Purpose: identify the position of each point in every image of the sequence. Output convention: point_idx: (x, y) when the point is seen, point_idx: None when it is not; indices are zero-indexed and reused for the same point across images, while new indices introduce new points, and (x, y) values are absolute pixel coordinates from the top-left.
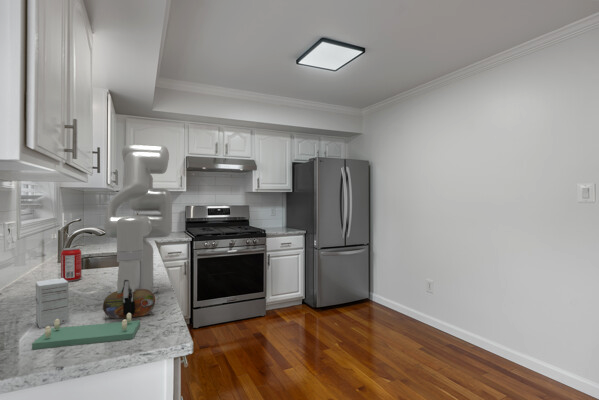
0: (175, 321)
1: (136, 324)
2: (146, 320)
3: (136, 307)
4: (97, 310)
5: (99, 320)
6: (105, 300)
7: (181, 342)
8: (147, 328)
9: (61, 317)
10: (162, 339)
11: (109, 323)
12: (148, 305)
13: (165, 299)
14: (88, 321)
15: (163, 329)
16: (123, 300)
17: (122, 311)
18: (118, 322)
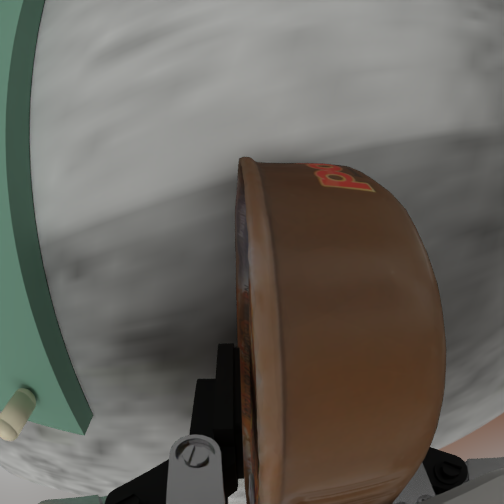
0: None
1: (31, 418)
2: (165, 436)
3: (253, 442)
4: (483, 77)
5: (233, 127)
6: (266, 206)
7: (5, 467)
8: (63, 433)
9: None
10: (3, 446)
11: (18, 288)
12: (250, 491)
13: (480, 415)
14: (232, 42)
15: (65, 465)
16: (169, 463)
17: (251, 341)
18: (38, 341)
